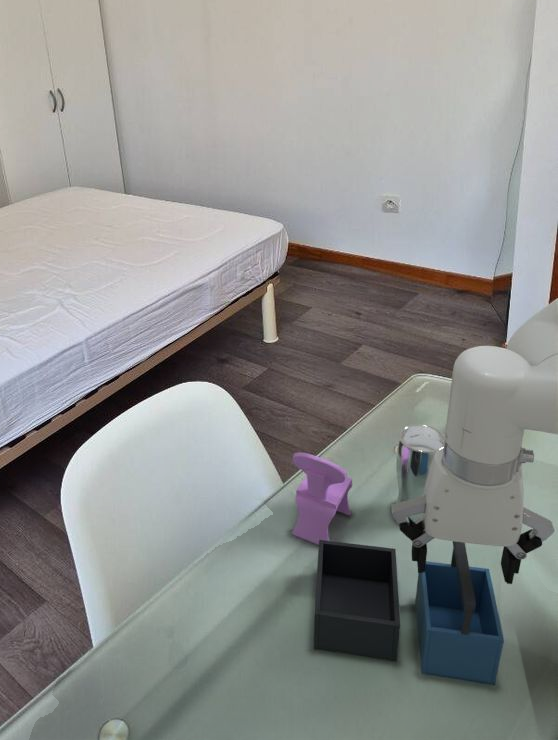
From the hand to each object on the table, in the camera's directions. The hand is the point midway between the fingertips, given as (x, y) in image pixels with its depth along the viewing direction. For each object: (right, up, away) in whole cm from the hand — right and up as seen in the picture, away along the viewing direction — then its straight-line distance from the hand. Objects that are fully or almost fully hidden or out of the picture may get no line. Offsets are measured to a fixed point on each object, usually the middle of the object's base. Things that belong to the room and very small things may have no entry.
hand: (462, 568), depth 82 cm
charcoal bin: (-10, -10, +10) cm, 18 cm away
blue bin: (+1, -12, +6) cm, 13 cm away
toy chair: (-12, -3, +25) cm, 28 cm away
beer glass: (+3, -2, +26) cm, 26 cm away
